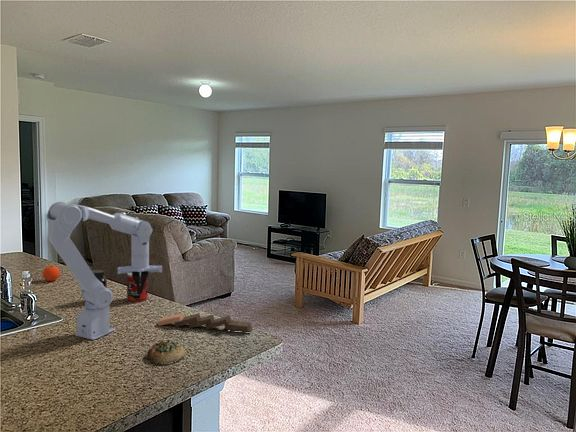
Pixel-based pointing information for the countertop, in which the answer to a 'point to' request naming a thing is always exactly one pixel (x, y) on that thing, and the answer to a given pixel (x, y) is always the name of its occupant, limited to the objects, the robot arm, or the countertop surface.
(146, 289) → the canned food
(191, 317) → the domino
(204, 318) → the domino
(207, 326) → the domino
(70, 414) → the countertop surface
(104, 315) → the robot arm
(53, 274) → the clementine
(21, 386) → the countertop surface
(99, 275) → the supplement bottle
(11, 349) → the countertop surface
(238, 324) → the domino
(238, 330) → the domino
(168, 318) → the domino
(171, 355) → the bread roll
